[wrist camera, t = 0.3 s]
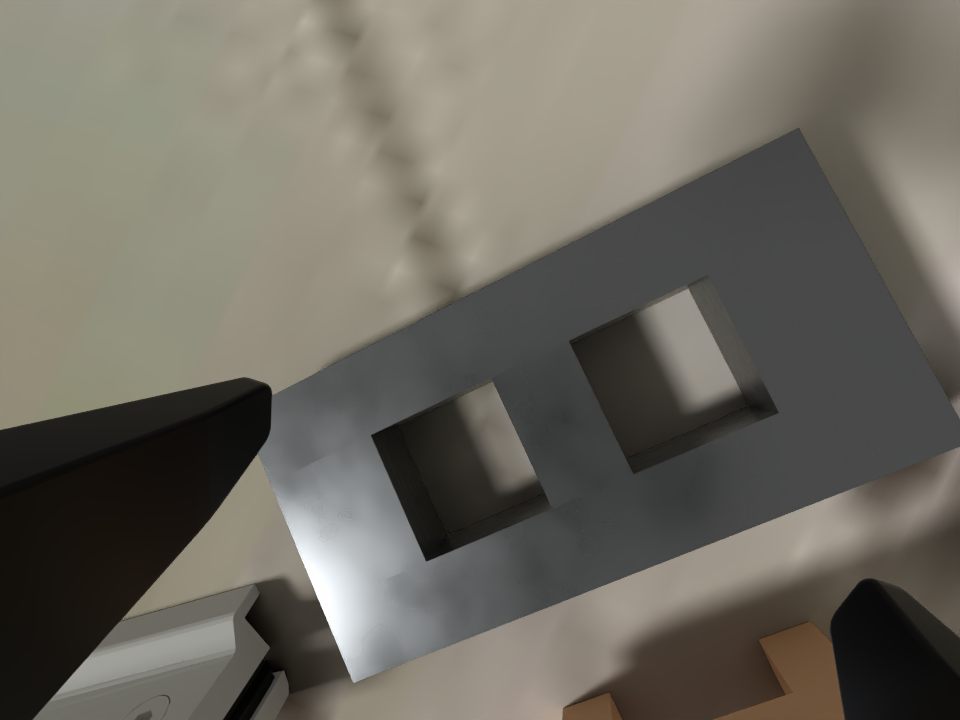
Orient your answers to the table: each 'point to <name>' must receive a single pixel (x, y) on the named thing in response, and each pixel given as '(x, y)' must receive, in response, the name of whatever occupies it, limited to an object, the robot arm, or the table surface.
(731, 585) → the table surface
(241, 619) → the grey upright panel
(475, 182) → the table surface
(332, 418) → the gray slotted slab
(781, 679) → the tan wooden plank
